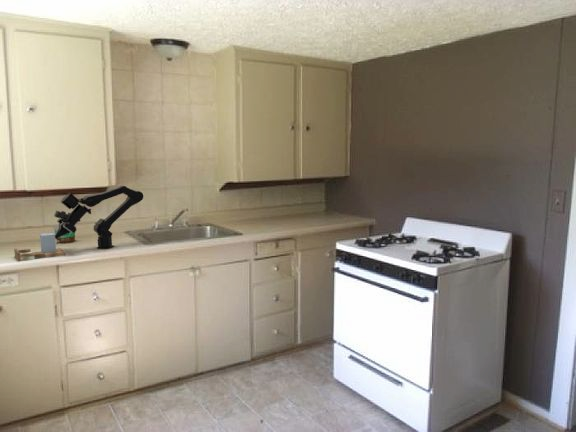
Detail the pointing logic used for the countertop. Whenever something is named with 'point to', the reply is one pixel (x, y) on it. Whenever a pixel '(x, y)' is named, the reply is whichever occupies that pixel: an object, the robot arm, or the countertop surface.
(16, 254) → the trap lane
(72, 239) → the food container
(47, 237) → the blue-grey block
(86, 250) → the countertop surface
